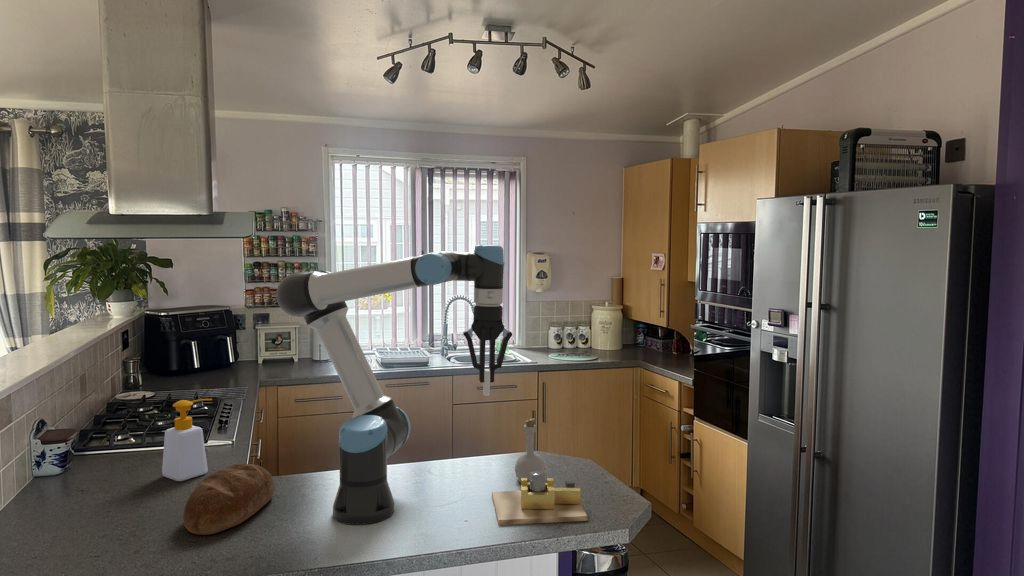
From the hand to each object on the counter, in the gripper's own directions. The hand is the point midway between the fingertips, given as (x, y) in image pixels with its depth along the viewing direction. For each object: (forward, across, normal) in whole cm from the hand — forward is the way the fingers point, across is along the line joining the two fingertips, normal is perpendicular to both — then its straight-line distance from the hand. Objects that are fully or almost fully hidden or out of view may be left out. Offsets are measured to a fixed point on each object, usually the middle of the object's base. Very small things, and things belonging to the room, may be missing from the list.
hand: (486, 394), depth 171 cm
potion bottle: (+29, +15, +14) cm, 35 cm away
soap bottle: (+31, -83, +32) cm, 94 cm away
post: (+28, +13, -6) cm, 32 cm away
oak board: (+28, +13, -6) cm, 32 cm away
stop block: (+27, +22, -4) cm, 35 cm away
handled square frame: (+27, +16, -7) cm, 32 cm away
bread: (+30, -64, +2) cm, 70 cm away
